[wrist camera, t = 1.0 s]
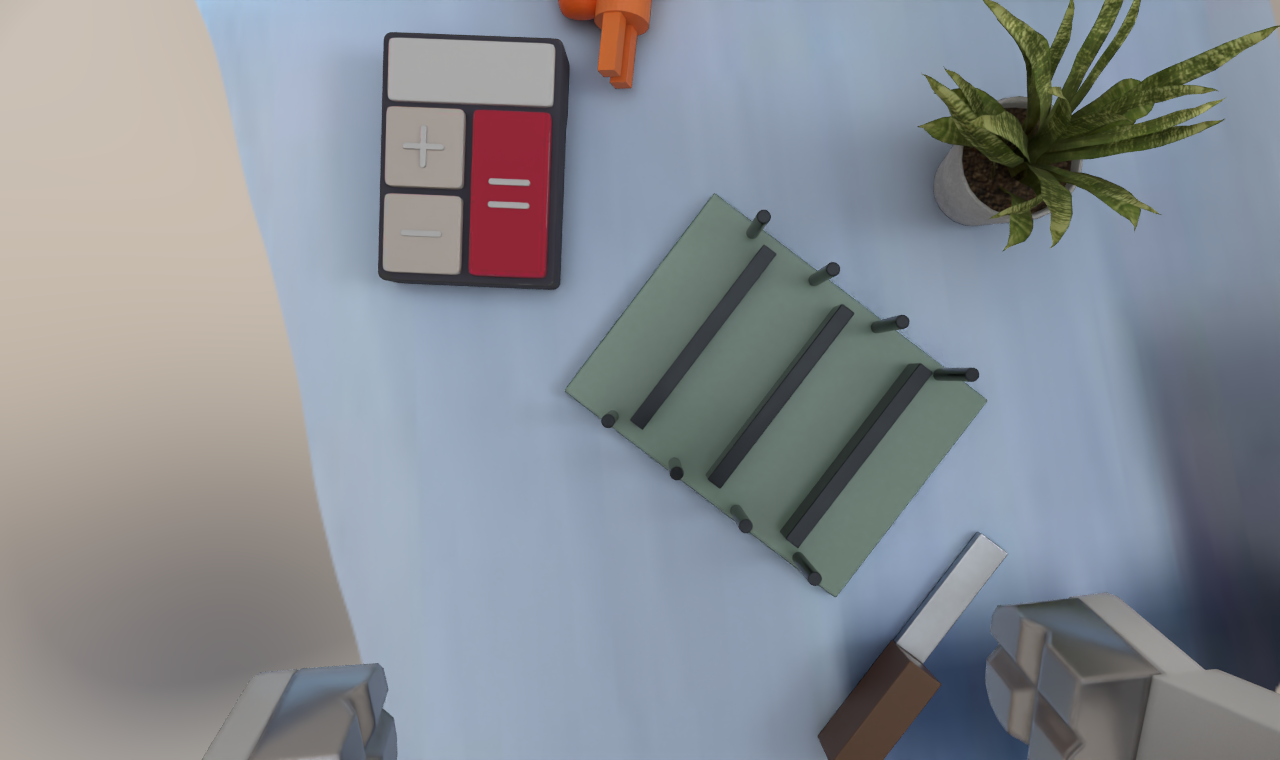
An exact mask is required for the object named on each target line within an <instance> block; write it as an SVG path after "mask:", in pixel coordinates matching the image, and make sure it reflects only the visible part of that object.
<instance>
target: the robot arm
mask: <svg viewBox="0 0 1280 760" xmlns="http://www.w3.org/2000/svg"><path fill="white" fill-rule="evenodd" d="M990 632H991V634H992V635H993V636H994V638H995V639H996V640H997V642H998V643H999V645H998V646H997V648H996V649H995V650H994V651H993V652H992V654H991V655H990V656H989V657H988V658H987V662H986V675H985V682H986V687H987V692H988V696H989V701H990V704H991V706H992V708H993V710H994V712H995V715H996V717H997V719H998V720H999V721H1000V723H1001V724H1002V726H1003V727H1004V729H1005V730H1006V731H1007V733H1008V734H1010V735H1012V736H1014V737H1015V738H1017V739H1019V740H1021V741H1022V742H1024V743H1026V744H1028V745H1029V751H1028V760H1280V694H1278V693H1276V692H1273V691H1271V690H1268V689H1266V688H1263V687H1261V686H1258V685H1256V684H1253V683H1250V682H1248V681H1245V680H1243V679H1240V678H1238V677H1235V676H1233V675H1230V674H1228V673H1225V672H1223V671H1220V670H1218V669H1213V670H1204V669H1203V668H1202V667H1201V666H1200V665H1198V664H1197V663H1196V662H1195V661H1194V660H1192V659H1191V658H1190V657H1189V656H1188V655H1187V654H1185V653H1184V652H1183V651H1182V650H1181V649H1179V648H1178V647H1177V646H1176V645H1175V644H1173V643H1172V642H1171V641H1170V640H1169V639H1168V638H1166V637H1165V636H1164V635H1163V634H1162V633H1160V632H1159V631H1158V630H1157V629H1156V628H1154V627H1153V626H1152V625H1151V624H1150V623H1148V622H1147V621H1146V620H1145V619H1144V618H1143V617H1141V616H1140V615H1139V614H1138V613H1137V612H1135V611H1134V610H1133V609H1132V608H1131V607H1129V606H1128V605H1127V604H1126V603H1125V602H1123V601H1122V600H1121V599H1120V598H1119V597H1117V596H1114V595H1112V594H1109V593H1098V594H1089V595H1081V596H1073V597H1069V598H1068V599H1057V600H1047V601H1037V602H1027V603H1017V604H1007V605H998V606H997V607H996V609H995V611H994V613H993V615H992V620H991V627H990ZM387 692H388V686H387V681H386V677H385V672H384V668H383V667H382V666H381V665H379V664H378V663H373V664H359V665H345V666H332V667H318V668H304V669H300V670H295V669H294V670H284V671H271V672H260V673H259V674H257V675H256V676H254V677H252V678H251V679H250V681H249V682H248V684H247V686H246V687H245V689H244V690H243V692H242V694H241V695H240V697H239V699H238V700H237V702H236V704H235V705H234V707H233V709H232V710H231V712H230V714H229V715H228V717H227V719H226V720H225V722H224V724H223V725H222V727H221V728H220V730H219V732H218V734H217V735H216V737H215V739H214V740H213V742H212V743H211V745H210V747H209V748H208V750H207V752H206V753H205V755H204V757H203V758H202V760H397V734H396V728H395V722H394V718H393V717H392V716H391V715H390V714H389V713H387V712H386V711H385V710H384V709H383V704H384V701H385V698H386V695H387Z"/></svg>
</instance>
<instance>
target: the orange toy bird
mask: <svg viewBox="0 0 1280 760" xmlns="http://www.w3.org/2000/svg"><path fill="white" fill-rule="evenodd" d="M558 1H559V6H560V10H561V12H562V14H563V15H564V16H566V17H567V18H570V19H574V20H591V19H594V18H595V19H594V21H595V24H596V25H597V26H598V27H599V28H600V29H601V30H602V34H601V43H600V53H599V62H598V71H599V72H600V73H601V74H602V76H603V77H610V83H611V84H612V85H613V86H614V88H615V89H620V88H632V80H633V70H634V61H635V51H636V42H637V36H638V35H641V34H644V33H645V32H646V31H647V30H648V28H649V21H650V11H651V2H652V0H558Z"/></svg>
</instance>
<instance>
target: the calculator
mask: <svg viewBox="0 0 1280 760" xmlns="http://www.w3.org/2000/svg"><path fill="white" fill-rule="evenodd" d="M568 92H569V62H568V59H567V55H566V52H565V49H564V46H563V43H562V42H561V41H560V40H559V39H551V38H526V37H501V36H475V35H449V34H424V33H398V32H390V33H387V34H386V35H385V37H384V51H383V93H382V135H381V177H380V219H379V260H378V273H379V276H380V277H381V278H382V279H384V280H388V281H392V282H397V283H410V284H432V285H455V286H478V287H501V288H523V289H546V290H554V289H557V288H558V287H559V285H560V271H561V245H562V219H563V193H564V166H565V140H566V125H567V116H568Z"/></svg>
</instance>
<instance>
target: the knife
mask: <svg viewBox="0 0 1280 760" xmlns="http://www.w3.org/2000/svg"><path fill="white" fill-rule="evenodd" d="M1007 555H1008V553H1007V552H1005V551H1004V550H1003V549H1001V548H1000V547H999V546H997V545H996V544H995V543H994V542H992V541H991V540H990V539H988V538H987V537H986V536H984V535H983V534H982V533H980V532H977V533H976V534H975V536H974V537H973V538H972V539H971V541H970V542H969V543H968V545H967V546H966V547H965V548H964V550H963V551H962V552H961V554H960V555H959V556H958V558H957V559H956V560H955V561H954V563H953V564H952V565H951V567H950V568H949V569H948V570H947V572H946V573H945V574H944V576H943V577H942V578H941V580H940V581H939V582H938V583H937V585H936V586H935V587H934V589H933V590H932V591H931V592H930V594H929V595H928V596H927V598H926V599H925V600H924V602H923V603H922V604H921V605H920V607H919V608H918V609H917V611H916V612H915V613H914V614H913V616H912V617H911V618H910V620H909V621H908V622H907V624H906V625H905V626H904V627H903V629H902V630H901V631H900V633H899V634H898V635H897V636H896V638H895V639H894V641H891V642H890V643H889V645H888V646H887V647H886V648H885V650H884V651H883V652H882V654H881V655H880V656H879V657H878V659H877V660H876V661H875V663H874V664H873V665H872V667H871V668H870V669H869V670H868V672H867V673H866V674H865V676H864V677H863V678H862V679H861V681H860V682H859V683H858V685H857V686H856V687H855V689H854V690H853V691H852V692H851V694H850V695H849V696H848V698H847V699H846V700H845V701H844V703H843V704H842V705H841V707H840V708H839V709H838V711H837V712H836V713H835V714H834V716H833V717H832V718H831V720H830V721H829V722H828V723H827V725H826V726H825V727H824V729H823V730H822V731H821V733H820V734H819V735H818V738H819V740H820V743H821V745H822V747H823V749H824V751H825V753H826V756H827V758H828V760H883V759H884V758H885V757H886V756H887V754H888V753H889V752H890V750H891V749H892V748H893V747H894V745H895V744H896V743H897V741H898V740H899V739H900V738H901V736H902V735H903V734H904V732H905V731H906V730H907V728H908V727H909V726H910V725H911V723H912V722H913V721H914V719H915V718H916V717H917V716H918V714H919V713H920V712H921V710H922V709H923V708H924V707H925V705H926V704H927V703H928V701H929V700H930V699H931V698H932V696H933V695H934V694H935V692H936V691H937V690H938V688H939V687H940V686H941V683H940V682H939V681H938V680H937V679H936V678H935V677H934V676H933V675H932V674H931V672H930V671H929V670H928V669H927V668H926V667H925V666H924V665H923V663H924V662H925V661H926V659H927V658H928V657H929V655H930V654H931V653H932V651H933V650H934V649H935V648H936V646H937V645H938V644H939V642H940V641H941V640H942V639H943V637H944V636H945V635H946V633H947V632H948V631H949V630H950V628H951V627H952V626H953V624H954V623H955V622H956V620H957V619H958V618H959V617H960V615H961V614H962V613H963V611H964V610H965V609H966V608H967V606H968V605H969V604H970V602H971V601H972V600H973V599H974V597H975V596H976V595H977V593H978V592H979V591H980V589H981V588H982V587H983V586H984V584H985V583H986V582H987V580H988V579H989V578H990V577H991V575H992V574H993V573H994V571H995V570H996V569H997V568H998V566H999V565H1000V564H1001V562H1002V561H1003V560H1004V558H1005V557H1006V556H1007Z"/></svg>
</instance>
